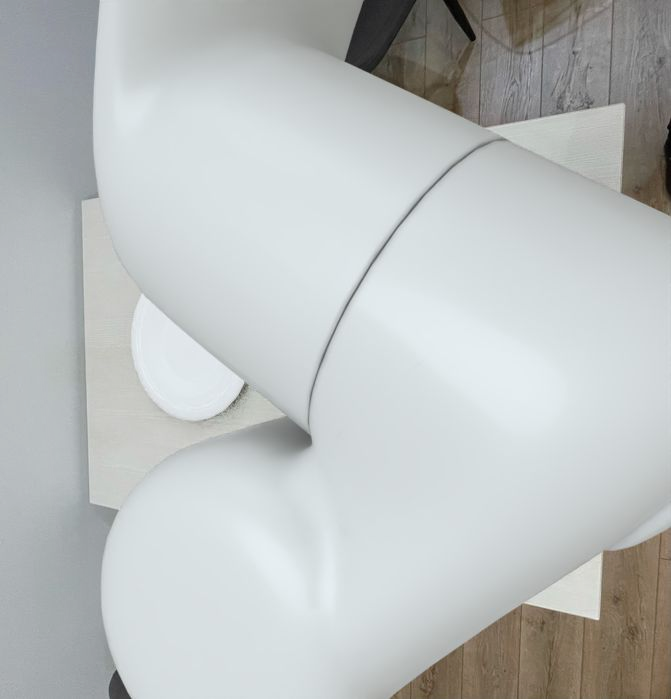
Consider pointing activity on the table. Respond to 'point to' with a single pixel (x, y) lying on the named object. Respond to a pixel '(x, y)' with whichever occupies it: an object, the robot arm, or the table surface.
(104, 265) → the table surface
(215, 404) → the plate
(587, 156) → the table surface
